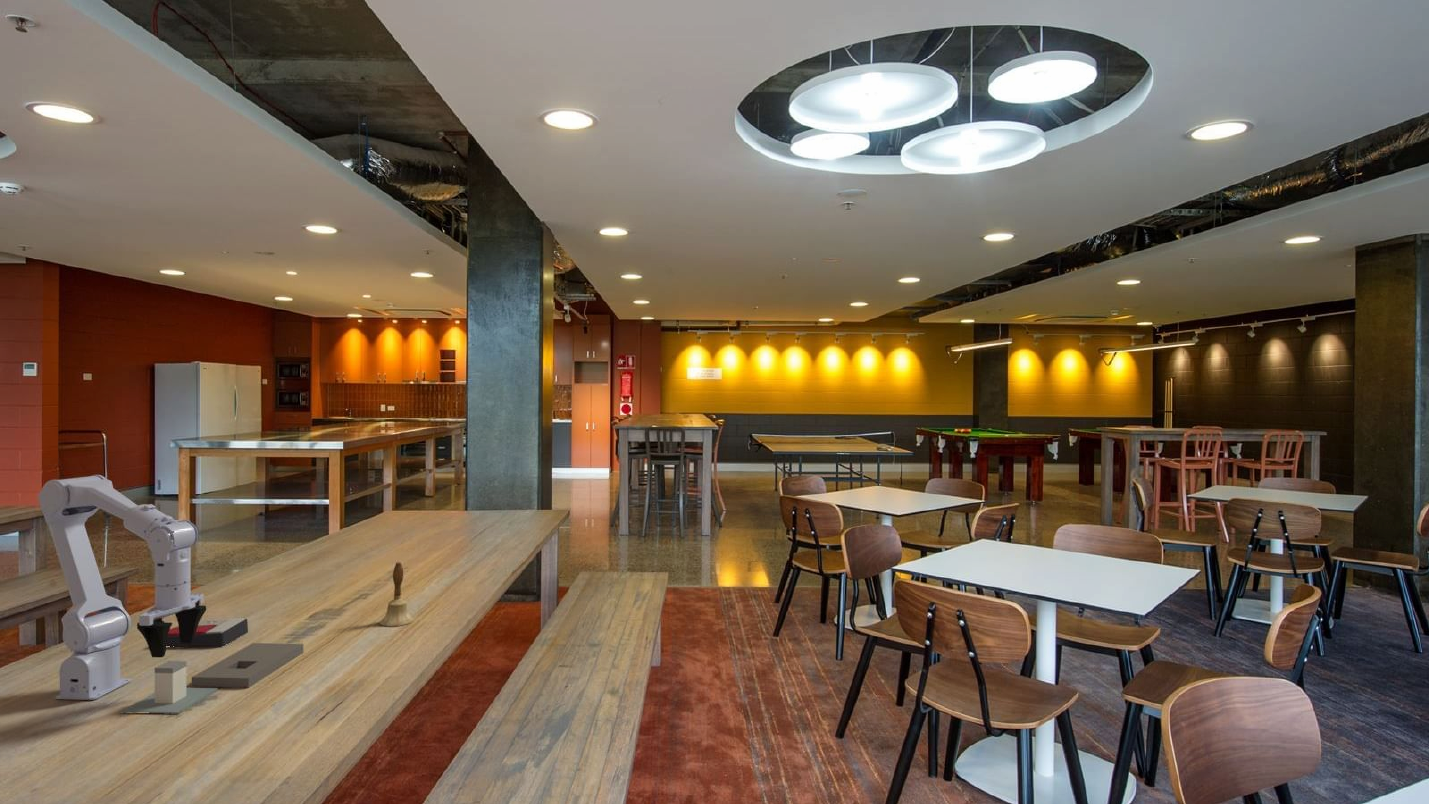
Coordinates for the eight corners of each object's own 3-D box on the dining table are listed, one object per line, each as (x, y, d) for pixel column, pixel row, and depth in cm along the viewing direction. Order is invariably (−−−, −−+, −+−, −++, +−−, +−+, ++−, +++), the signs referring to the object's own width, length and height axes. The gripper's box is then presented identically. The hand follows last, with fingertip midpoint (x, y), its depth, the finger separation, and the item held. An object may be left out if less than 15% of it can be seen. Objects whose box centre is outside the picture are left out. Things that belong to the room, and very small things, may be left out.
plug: (172, 703, 143) (172, 668, 143) (154, 703, 143) (154, 667, 143) (186, 695, 147) (186, 661, 147) (168, 695, 147) (168, 660, 147)
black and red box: (186, 619, 184) (248, 615, 185) (187, 636, 184) (248, 632, 185) (156, 634, 173) (222, 630, 174) (157, 652, 173) (223, 648, 174)
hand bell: (404, 615, 201) (404, 557, 200) (419, 621, 195) (419, 562, 195) (374, 622, 194) (374, 563, 194) (389, 629, 189) (389, 568, 189)
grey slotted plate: (248, 687, 152) (248, 678, 152) (191, 686, 152) (191, 677, 152) (303, 652, 172) (303, 644, 172) (252, 651, 172) (252, 643, 172)
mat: (178, 714, 139) (178, 712, 139) (121, 713, 139) (121, 711, 139) (217, 690, 150) (217, 688, 150) (164, 689, 150) (164, 687, 150)
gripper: (164, 593, 139) (164, 664, 139) (218, 573, 153) (217, 637, 153) (128, 592, 139) (128, 663, 139) (184, 572, 153) (184, 636, 154)
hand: (172, 649), depth 146 cm, fingers open, 7 cm apart
